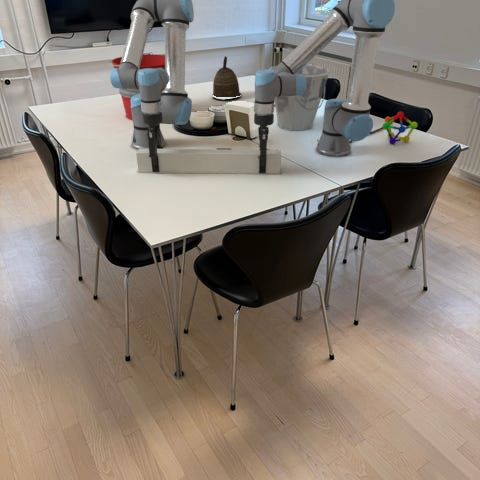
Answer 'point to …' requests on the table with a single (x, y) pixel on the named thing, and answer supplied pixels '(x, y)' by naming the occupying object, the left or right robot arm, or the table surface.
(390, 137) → the educational toy
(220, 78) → the bell
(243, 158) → the bar
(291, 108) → the bucket
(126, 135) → the table surface
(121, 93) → the bucket
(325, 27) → the right robot arm
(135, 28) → the left robot arm
